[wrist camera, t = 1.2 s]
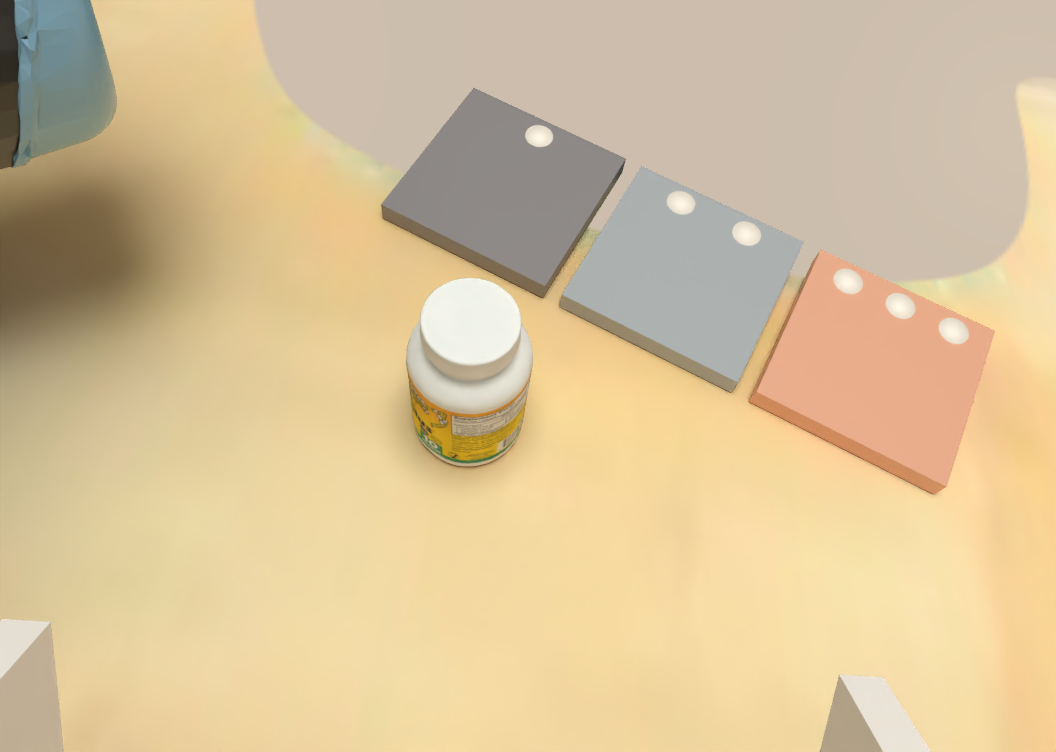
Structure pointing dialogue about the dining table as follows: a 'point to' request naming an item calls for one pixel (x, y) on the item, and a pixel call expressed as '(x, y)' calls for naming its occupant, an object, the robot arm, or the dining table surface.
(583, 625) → the dining table surface
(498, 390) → the supplement bottle
